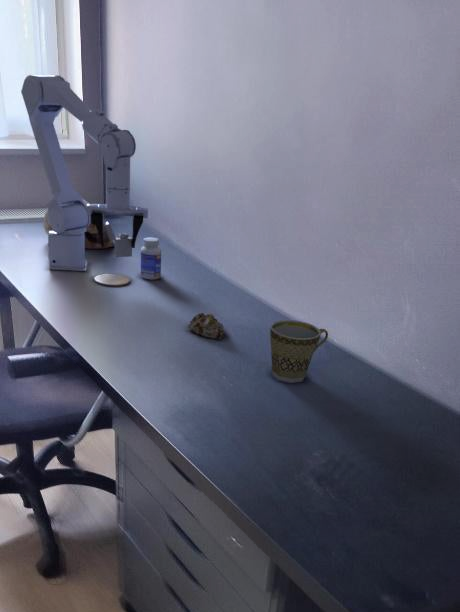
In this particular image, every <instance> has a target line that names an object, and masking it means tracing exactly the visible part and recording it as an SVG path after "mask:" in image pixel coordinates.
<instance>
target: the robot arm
mask: <svg viewBox="0 0 460 612" xmlns="http://www.w3.org/2000/svg"><path fill="white" fill-rule="evenodd" d="M20 93H21V95H22V99H23V103H24V105H25V109H26V112H27V115H28V121H29V123H30V127H31V130H32V133H33V136H34V140H35V143H36V146H37V149H38V152H39V157H40V159H41V162H42V165H43V169H44V171H45V172H44V173H45V175H46V178H47V182H48V185H49V188H50V191H51V194H52V195H51V197H50V198H49V200H48V202H47V203H46V208H47V209H48V213H49V222H50V225H51V227H52V228H53V230H54V231H49V233H48V235H47V246H48V248H47V249H48V254H47V257H48V266H49V267H48V269H49V270H56V271H75V272H86V271H87V267H88V261H87V260H86V248H85V240H84V232H86V228H87V227H88V226H89V224H90V221H91V216H90V214H92V219H93V221H94V223H95V226H96V228H97V231H98V234H99V237H100V242H101V246H104V235H103V224H104V215H107V216H108V215H109V216H122V217H132V236H131V238H132V249H135V248H136V241H137V238H138V236H139V235H138V234H139V232H140V230H141V227H142V225H143V223H144V219H148V217H149V208H148V207H141V206H135V205H130V203H131V201H130V200H131V157H133V156H134V154H135V152H136V151H137V150H136V149H137V143H136V140H135V137H134V135H133V134H132V133H131V131H130V130H128V129H121V128H118V125H117V124H116V123H114V122H112V121H111V120H110V119H109V118H108V117H107V116H106V115H105V111H104V110H102V109H95V108H94V109H91V108H90V107H89V106H88V105H87V104H86V103H85V102H84V101H83V100H82V99H81V97H79V96H78V94H77V93H75V92H74V91H73V89H72V87H71V83H70V82H69V81H67V80H66V79H65V78H64V77H63V76H62V75H60V74H59V75H33V74H28V75H27V76H26V77H24V80H23V84H22V87H21V90H20ZM63 109H64V110H66V111H67V112H68V113H69V114H71V116H73V117H75V118H76V119H77V120H78V121H79V122H81V127H82V130H83V132H85V133H86V134H87V135H88V137H90V138H91V139H92V140H93V142H95V143H96V144H97V145H98V146H99V148H100V152H101V154H102V156H103V157H102V158H103V164H104V166H105V203H88V205H87V206H86V205H85V203H84V200H85V199H84V198H83V197H84V196H82V194H80V193H79V192H77V191H76V190H74V188H73V185H72V182H71V181H72V180H71V178H70V175H69V171H68V167H67V164H66V161H65V158H64V154H63V152H62V148H61V145H60V141H59V138H58V134H57V131H56V128H55V124H54V123H55V120H56V118H57V117H58V116H59V115H60V114H61V112H62V110H63ZM66 204H67V205H66ZM61 205H65V206H61Z"/></svg>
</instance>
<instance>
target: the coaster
mask: <svg viewBox="0 0 460 612" xmlns="http://www.w3.org/2000/svg"><path fill="white" fill-rule="evenodd" d="M94 282H95V283H97V284H99V285H102V286H106V287H123V286H126V285H128V284H130V282H131V280H130V277H128V276H127V275H123V274H117V273H102V274H98V275H96V276H94Z"/></svg>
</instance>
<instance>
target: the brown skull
mask: <svg viewBox="0 0 460 612" xmlns="http://www.w3.org/2000/svg"><path fill="white" fill-rule="evenodd" d="M83 200H84V203H85V205H86V206H87V205H88V204H89V202H88V201H87V200H85V199H83ZM66 205H67V204H66ZM61 206H65V205H61ZM90 216H91V221H90V224H89V226H88V227H87V228H86V232H84V240H85V249H89V250H95V249H96V250H98V249H102V250H103V249H108V248H112V247H115V242H114V241H111V240H110V239H109V237H108V235H107V232H106V230H105V228H104V226H103V235H104V246H101V242H100V237H99V234H98V231H97V228H96V226H95V223H94V221H93V219H92V214H90ZM43 230H44V232H45V234H46V235H47V236H48V233H49V231H54V230H53V228H52V227H51V225H50V222H49V213H48V208H47V209H46V211H45V213H44V217H43Z"/></svg>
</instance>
